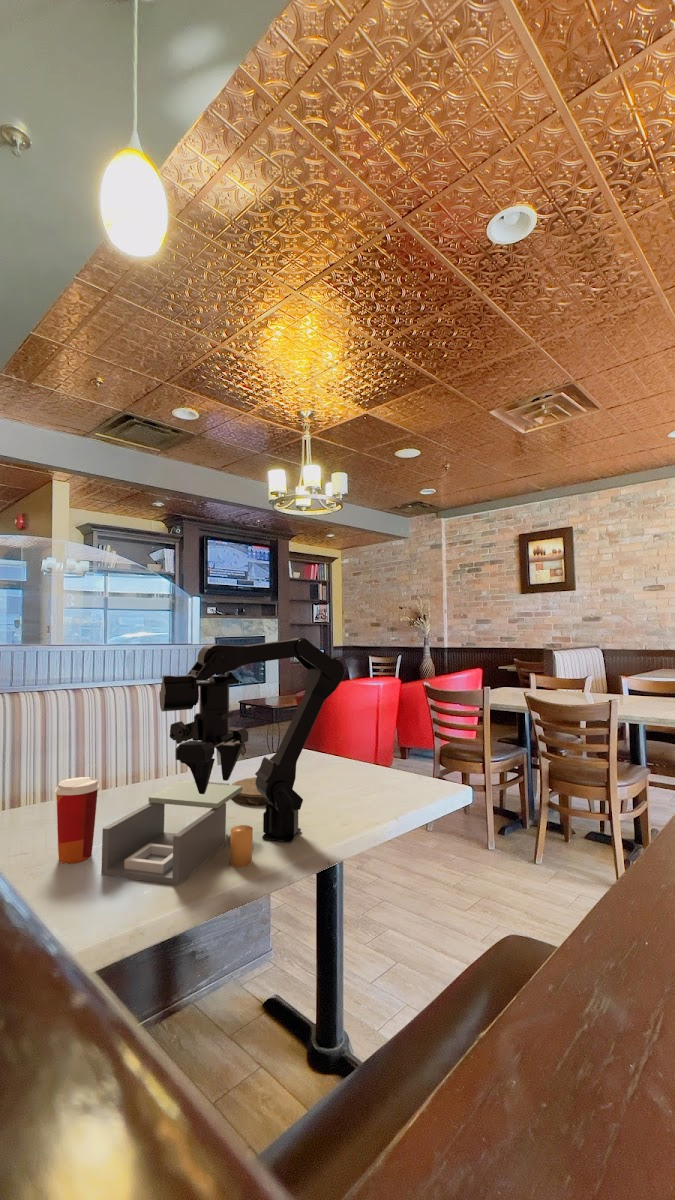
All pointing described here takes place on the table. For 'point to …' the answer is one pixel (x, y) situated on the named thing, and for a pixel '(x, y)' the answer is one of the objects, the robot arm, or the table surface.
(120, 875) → the housing
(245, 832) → the orange rounded cylinder
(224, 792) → the lid
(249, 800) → the wood slice coaster
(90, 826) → the paper cup
